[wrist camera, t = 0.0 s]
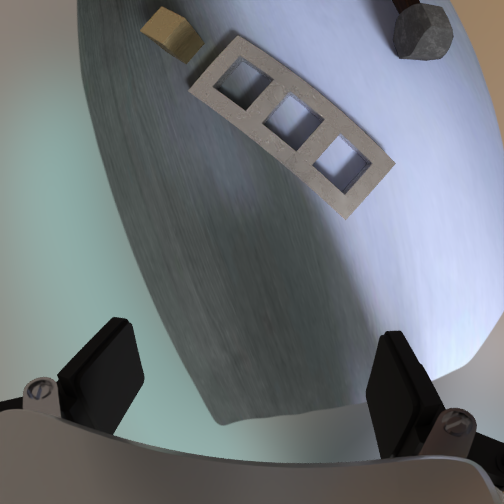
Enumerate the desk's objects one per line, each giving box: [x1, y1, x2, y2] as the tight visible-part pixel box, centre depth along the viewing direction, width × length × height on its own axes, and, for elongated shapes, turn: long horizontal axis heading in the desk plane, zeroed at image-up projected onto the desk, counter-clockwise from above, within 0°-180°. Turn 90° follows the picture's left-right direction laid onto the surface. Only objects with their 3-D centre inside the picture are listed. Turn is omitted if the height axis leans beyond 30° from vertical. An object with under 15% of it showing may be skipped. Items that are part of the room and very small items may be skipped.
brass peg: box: [140, 7, 205, 64], centre depth 30 cm, size 4×4×9 cm
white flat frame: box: [189, 36, 396, 220], centre depth 35 cm, size 26×10×2 cm, turn 50°
